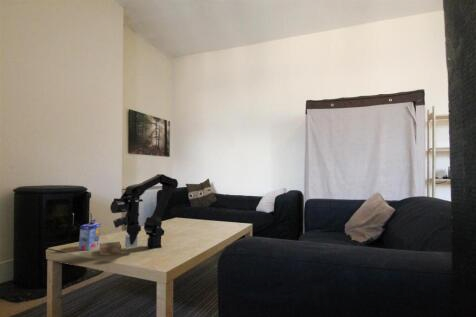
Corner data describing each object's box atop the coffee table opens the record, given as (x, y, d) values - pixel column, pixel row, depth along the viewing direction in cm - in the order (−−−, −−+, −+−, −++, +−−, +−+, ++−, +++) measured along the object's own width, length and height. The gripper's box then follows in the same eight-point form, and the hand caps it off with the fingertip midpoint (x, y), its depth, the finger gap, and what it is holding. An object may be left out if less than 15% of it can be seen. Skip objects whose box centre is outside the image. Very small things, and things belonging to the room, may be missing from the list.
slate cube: (135, 244, 129) (136, 234, 130) (137, 246, 125) (137, 236, 125) (125, 245, 127) (125, 235, 127) (126, 247, 123) (126, 237, 123)
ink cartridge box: (88, 250, 130) (90, 221, 131) (77, 250, 130) (79, 221, 132) (99, 245, 140) (101, 218, 141) (89, 245, 140) (91, 218, 141)
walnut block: (119, 249, 134) (119, 241, 134) (120, 253, 126) (121, 245, 126) (99, 251, 129) (99, 243, 130) (100, 256, 122) (100, 247, 122)
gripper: (113, 209, 132) (112, 240, 131) (115, 214, 115) (113, 249, 114) (136, 208, 137) (135, 238, 136) (141, 213, 121) (140, 247, 119)
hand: (131, 243), depth 126 cm, fingers closed on slate cube, 5 cm apart
